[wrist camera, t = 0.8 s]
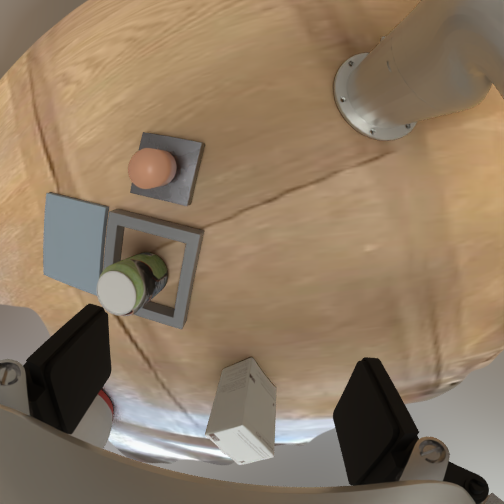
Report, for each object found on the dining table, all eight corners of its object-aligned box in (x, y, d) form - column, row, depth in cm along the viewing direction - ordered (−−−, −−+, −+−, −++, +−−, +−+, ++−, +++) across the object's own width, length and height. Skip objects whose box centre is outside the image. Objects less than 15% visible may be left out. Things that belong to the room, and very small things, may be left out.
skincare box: (276, 387, 45) (279, 457, 31) (245, 399, 46) (240, 468, 32) (250, 353, 43) (244, 425, 29) (218, 367, 44) (202, 437, 30)
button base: (148, 133, 35) (143, 132, 33) (205, 144, 35) (201, 142, 33) (136, 191, 37) (130, 192, 35) (190, 204, 37) (187, 206, 35)
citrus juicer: (105, 366, 46) (54, 441, 27) (132, 427, 51) (100, 496, 31) (48, 356, 47) (-5, 413, 28) (76, 414, 51) (40, 471, 32)
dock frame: (117, 208, 38) (109, 211, 35) (204, 230, 38) (200, 234, 36) (109, 296, 42) (101, 303, 39) (186, 321, 42) (182, 329, 40)
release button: (146, 147, 32) (132, 145, 28) (180, 153, 32) (169, 151, 28) (139, 182, 33) (124, 184, 29) (172, 189, 33) (160, 192, 29)
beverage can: (132, 287, 41) (93, 325, 29) (131, 239, 39) (86, 266, 27) (171, 293, 41) (141, 337, 29) (172, 244, 39) (137, 274, 27)
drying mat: (50, 192, 37) (46, 193, 36) (108, 206, 38) (105, 207, 37) (47, 272, 41) (43, 274, 40) (101, 293, 42) (98, 296, 41)
